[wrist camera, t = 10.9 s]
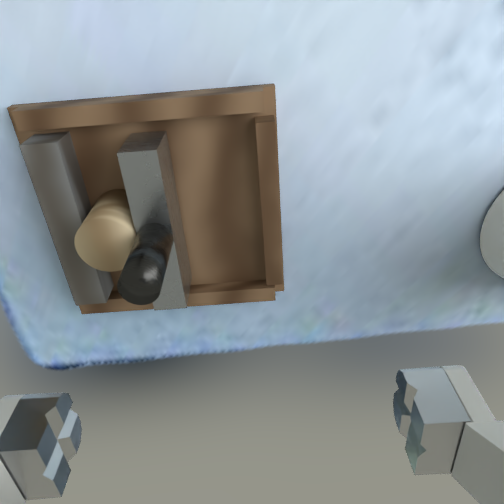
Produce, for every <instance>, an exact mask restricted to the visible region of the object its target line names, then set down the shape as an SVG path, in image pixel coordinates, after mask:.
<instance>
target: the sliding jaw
mask: <svg viewBox="0 0 504 504" xmlns="http://www.w3.org/2000/svg"><path fill="white" fill-rule="evenodd" d="M117 156H118V161H119V165H120V169H121V173H122V177H123V181H124V186H125V190H126V194H127V198H128V202H129V206H130V211H131V215H132V219H133V223H134V227H135V231H136V238H135V241H134V243H133V246H132V248H131V250H130V253H129V255H128V258H127V260H126V263H125V265H124V268H123V270H122V272H121V275H120V277H119V280H118V283H117V289H118V292H119V294H120V295H121V297H122V298H123V299H125V300H126V301H128V302H129V303H132V304H135V305H147V304H150V303H152V302H153V306H154V310H165V309H179V308H187V303H188V297H189V291H190V285H191V279H192V275H191V269H190V263H189V258H188V252H187V246H186V241H185V235H184V229H183V223H182V218H181V212H180V206H179V201H178V195H177V189H176V183H175V178H174V172H173V166H172V161H171V155H170V149H169V143H168V138H167V132H166V131H155V132H142V133H131V134H130V135H129V137H128V138H127V139H126V141H125V142H124V144H123V145H122V146H121V148H120V149H119V151H118V152H117Z"/></svg>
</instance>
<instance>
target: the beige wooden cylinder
mask: <svg viewBox="0 0 504 504" xmlns="http://www.w3.org/2000/svg"><path fill="white" fill-rule="evenodd" d="M135 238H136V231H135V227H134V223H133V219H132V215H131V211H130V206H129V202H128V198H127V194H126V190H124V189H113V190H109V191H107V192H105V193H103V194H102V195H101V196H100V197H99V198H98V200H97V201H96V203H95V205H94V206H93V208H92V209H91V211H90V212H89V214H88V215H87V217H86V218H85V220H84V221H83V223H82V224H81V226H80V228H79V229H78V231H77V232H76V235H75V240H74V243H75V248H76V251H77V253H78V255H79V256H80V257H81V259H82V260H83V261H84V262H85V263H87V264H88V265H90V266H91V267H93V268H95V269H98V270H101V271H108V272H113V271H119V270H122V269H123V268H124V265H125V263H126V260H127V258H128V255H129V253H130V250H131V248H132V246H133V243H134V241H135Z"/></svg>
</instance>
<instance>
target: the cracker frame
mask: <svg viewBox="0 0 504 504" xmlns="http://www.w3.org/2000/svg"><path fill="white" fill-rule="evenodd" d="M7 109H8V112H9V115H10V118H11V120H12V123H13V126H14V129H15V132H16V135H17V137H18V140H19V143H20V145H19V146H20V149H21V152H22V155H23V157H24V160H25V163H26V166H27V169H28V172H29V174H30V177H31V180H32V183H33V186H34V188H35V191H36V194H37V197H38V200H39V203H40V205H41V208H42V211H43V214H44V217H45V219H46V222H47V225H48V228H49V231H50V234H51V236H52V239H53V242H54V245H55V248H56V250H57V253H58V256H59V259H60V262H61V265H62V267H63V270H64V273H65V276H66V279H67V281H68V284H69V287H70V290H71V293H72V296H73V298H74V301H75V304H76V305H77V306H79V307H80V310H81V313H82V314H90V313H104V312H118V311H132V310H146V309H154V306H153V302H152V303H150V304H147V305H135V304H132V303H129V302H128V301H126V300H125V299H123V298H122V297H121V295H120V294H119V292H118V289H117V283H118V280H119V277H120V275H121V272H122V270H123V269H122V270H119V271H113V272H108V271H101V270H98V269H95V268H93V267H91V266H90V265H88V264H87V263H85V262H84V261H83V260H82V259H81V257H80V256H79V255H78V253H77V251H76V248H75V243H74V240H75V235H76V232H77V231H78V229H79V228H80V226H81V224H82V223H83V221H84V220H85V218H86V217H87V215H88V214H89V212H90V211H91V209H92V208H93V206H94V205H95V203H96V201H97V200H98V198H99V197H100V196H101V195H102V194H103V193H105V192H107V191H109V190H113V189H124V190H125V186H124V181H123V177H122V173H121V169H120V165H119V161H118V156H117V152H118V151H119V149H120V148H121V146H122V145H123V144H124V142H125V141H126V139H127V138H128V137H129V135H130V134H131V133H142V132H155V131H166V132H167V138H168V143H169V149H170V155H171V161H172V166H173V172H174V178H175V183H176V189H177V195H178V201H179V206H180V212H181V218H182V223H183V229H184V235H185V241H186V246H187V252H188V258H189V263H190V269H191V275H192V279H191V285H190V291H189V297H188V303H187V307H188V306H203V305H217V304H231V303H245V302H259V301H273V300H275V291H284V279H283V256H282V234H281V211H280V189H279V166H278V144H277V121H276V99H275V85H274V84H264V85H252V86H239V87H227V88H215V89H202V90H190V91H178V92H166V93H153V94H141V95H129V96H116V97H104V98H92V99H79V100H67V101H55V102H42V103H30V104H18V105H11V106H10V107H8V108H7Z"/></svg>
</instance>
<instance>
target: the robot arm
mask: <svg viewBox="0 0 504 504" xmlns="http://www.w3.org/2000/svg"><path fill="white" fill-rule="evenodd" d="M480 249H481V253H482V256H483V259H484V261H485V262H486V264H487V265H488V267H489V268H490V269H491V270H492V271H493V272H494V273H496V274H497V275H499V276H500V277H502V278H503V279H504V190H503V191H502V192H501V194H500V195H499V196H498V197H497V198H496V200H495V201H494V203H493V204H492V206H491V207H490V209H489V211H488V213H487V215H486V217H485V219H484V222H483V225H482V229H481V234H480ZM396 383H397V385H398V388H399V389H398V390H397V391H396V392H395V393H394V399H393V408H394V416H395V420H396V424H397V427H398V430H399V432H400V433H401V434H402V435H403V436H404V437H406V438H407V441H406V447H405V450H406V453H407V456H408V458H409V461H410V464H411V467H412V469H413V472H414V475H423V474H451V475H452V477H453V478H454V479H455V480H456V481H457V482H458V483H459V484H460V485H461V486H462V487H463V488H464V489H465V490H466V491H468V492H469V494H470V495H472V497H473V498H474V499H476V500H477V502H478V503H479V504H504V421H503V420H499V421H496V419H495V418H494V416H493V414H492V412H491V411H490V409H489V407H488V406H487V404H486V402H485V401H484V399H483V397H482V396H481V394H480V392H479V390H478V389H477V387H476V385H475V384H474V382H473V380H472V379H471V377H470V375H469V373H468V372H467V370H466V369H465V367H463V366H462V365H455V366H442V367H425V368H413V369H401V370H398V372H397V376H396ZM72 403H73V402H72V400H71V398H70V395H69V393H45V394H25V395H5V396H4V397H3V398H2V399H1V400H0V504H25V503H26V501H25V500H33V499H45V498H55V497H62V494H63V491H64V489H65V485H66V483H67V480H68V477H69V474H70V472H71V469H70V467H69V465H68V461H69V460H70V459H71V458H72V457H73V456H74V455H75V454H76V453H77V451H78V448H79V445H80V442H81V431H82V428H81V421H80V419H79V416H78V414H77V413H75V412H73V411H72V410H71V409H70V408H71V406H72Z"/></svg>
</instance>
